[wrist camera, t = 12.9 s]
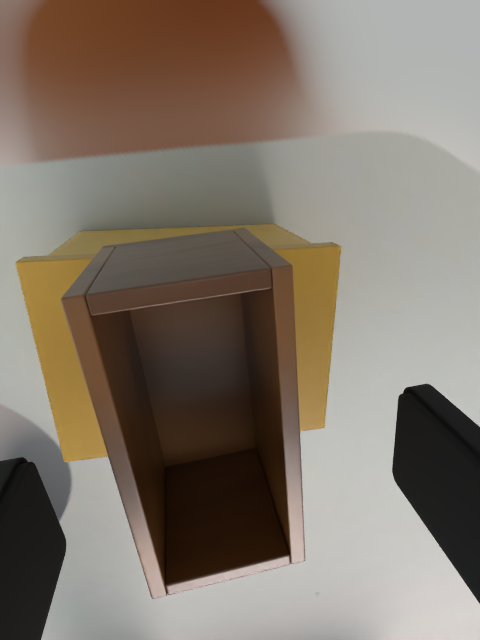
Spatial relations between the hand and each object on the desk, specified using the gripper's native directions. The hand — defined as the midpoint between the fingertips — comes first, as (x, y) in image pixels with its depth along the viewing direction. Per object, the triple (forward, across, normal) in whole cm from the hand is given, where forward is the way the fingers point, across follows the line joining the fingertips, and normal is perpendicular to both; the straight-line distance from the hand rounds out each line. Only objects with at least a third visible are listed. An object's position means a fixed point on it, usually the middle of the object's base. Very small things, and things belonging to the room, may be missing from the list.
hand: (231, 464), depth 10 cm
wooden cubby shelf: (+6, +1, 0) cm, 6 cm away
